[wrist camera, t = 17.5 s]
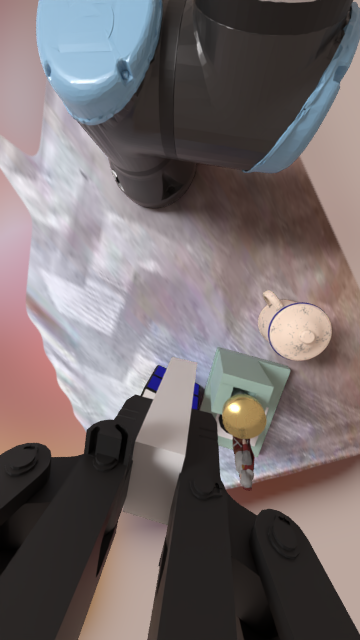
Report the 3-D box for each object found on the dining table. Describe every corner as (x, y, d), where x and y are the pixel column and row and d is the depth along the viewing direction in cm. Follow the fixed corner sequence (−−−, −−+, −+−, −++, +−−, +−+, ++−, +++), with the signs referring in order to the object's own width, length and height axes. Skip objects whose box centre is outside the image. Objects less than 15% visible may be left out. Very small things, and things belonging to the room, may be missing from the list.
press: (217, 346, 44) (221, 372, 32) (287, 365, 43) (318, 399, 31) (192, 430, 48) (187, 482, 36) (255, 450, 47) (272, 509, 35)
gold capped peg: (223, 362, 40) (229, 395, 28) (253, 370, 39) (272, 407, 28) (214, 389, 41) (217, 431, 30) (244, 398, 40) (258, 444, 29)
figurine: (219, 403, 44) (225, 465, 29) (257, 406, 43) (282, 472, 28) (217, 432, 45) (222, 507, 30) (254, 436, 44) (277, 514, 29)
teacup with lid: (316, 327, 41) (357, 345, 30) (273, 353, 43) (296, 380, 32) (280, 275, 40) (309, 273, 29) (238, 304, 42) (249, 313, 31)
